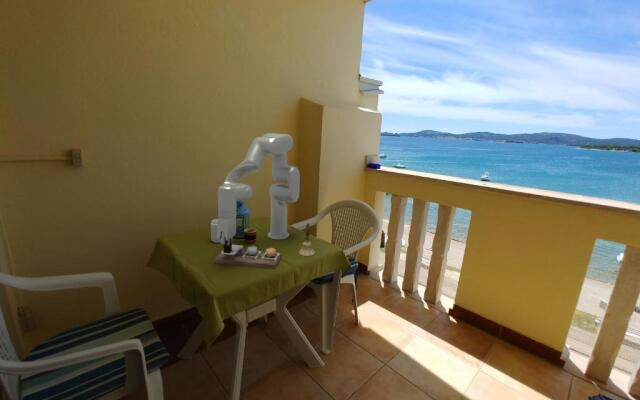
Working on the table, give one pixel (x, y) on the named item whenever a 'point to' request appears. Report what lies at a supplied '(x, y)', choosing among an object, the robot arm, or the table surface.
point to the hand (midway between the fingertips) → (227, 252)
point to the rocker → (233, 250)
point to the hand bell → (307, 244)
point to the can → (214, 231)
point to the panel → (249, 259)
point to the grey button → (251, 250)
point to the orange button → (270, 252)
